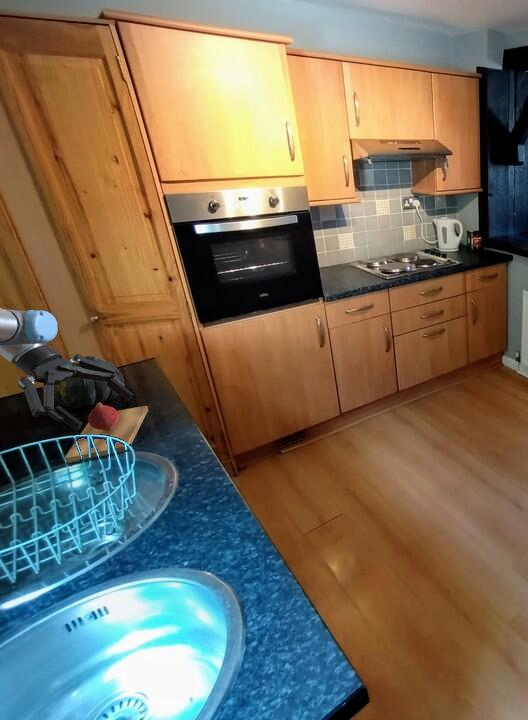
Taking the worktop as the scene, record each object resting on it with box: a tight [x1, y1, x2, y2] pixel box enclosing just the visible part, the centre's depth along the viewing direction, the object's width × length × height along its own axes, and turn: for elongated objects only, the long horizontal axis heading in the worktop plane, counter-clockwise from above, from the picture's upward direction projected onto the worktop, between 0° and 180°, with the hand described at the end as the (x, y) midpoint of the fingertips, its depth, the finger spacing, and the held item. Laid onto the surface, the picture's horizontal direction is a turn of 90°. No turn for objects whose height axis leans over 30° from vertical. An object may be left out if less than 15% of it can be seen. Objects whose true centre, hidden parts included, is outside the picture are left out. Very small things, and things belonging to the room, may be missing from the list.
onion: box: [87, 402, 119, 430], centre depth 116 cm, size 6×6×8 cm
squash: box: [54, 355, 125, 409], centre depth 130 cm, size 14×15×15 cm
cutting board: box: [64, 405, 149, 464], centre depth 118 cm, size 12×20×2 cm, turn 25°
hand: (106, 411), depth 115 cm, fingers open, 13 cm apart
